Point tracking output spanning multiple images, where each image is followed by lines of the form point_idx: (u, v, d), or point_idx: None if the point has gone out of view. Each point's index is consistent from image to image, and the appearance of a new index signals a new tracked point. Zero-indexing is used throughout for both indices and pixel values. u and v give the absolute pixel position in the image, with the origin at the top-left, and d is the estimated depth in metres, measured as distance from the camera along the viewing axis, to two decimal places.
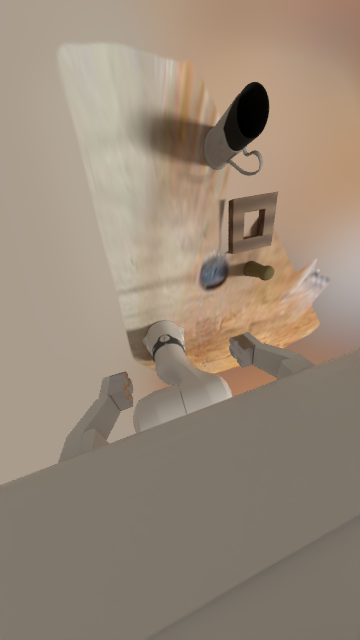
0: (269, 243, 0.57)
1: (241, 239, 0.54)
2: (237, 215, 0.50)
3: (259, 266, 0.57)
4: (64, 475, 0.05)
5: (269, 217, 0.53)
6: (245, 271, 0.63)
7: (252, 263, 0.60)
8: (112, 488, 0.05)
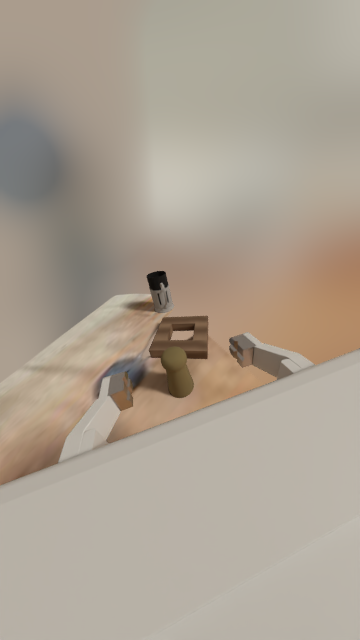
0: (204, 348, 0.40)
1: (163, 340, 0.45)
2: (163, 324, 0.51)
3: None
4: (64, 475, 0.05)
5: (200, 328, 0.47)
6: None
7: None
8: (112, 488, 0.05)
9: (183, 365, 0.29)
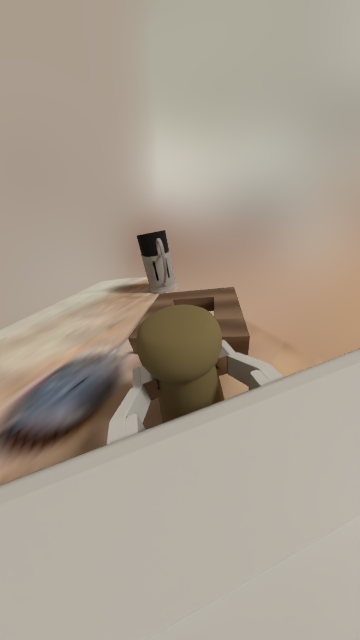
0: (242, 332, 0.19)
1: None
2: (160, 301, 0.31)
3: None
4: (64, 475, 0.05)
5: (225, 302, 0.26)
6: None
7: None
8: (112, 488, 0.05)
9: (214, 358, 0.08)
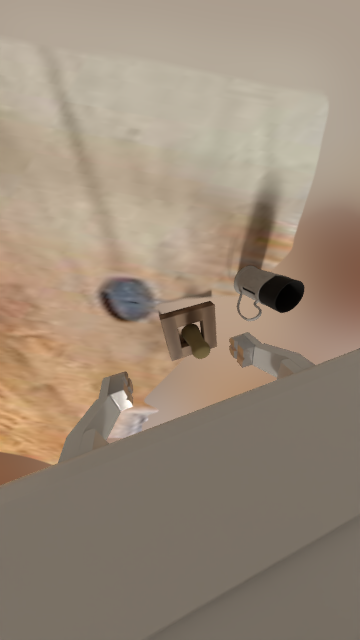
0: (173, 358, 0.50)
1: (177, 325, 0.44)
2: (200, 313, 0.44)
3: (203, 339, 0.45)
4: (64, 475, 0.05)
5: None
6: (188, 326, 0.48)
7: (199, 331, 0.48)
8: (112, 488, 0.05)
9: None
